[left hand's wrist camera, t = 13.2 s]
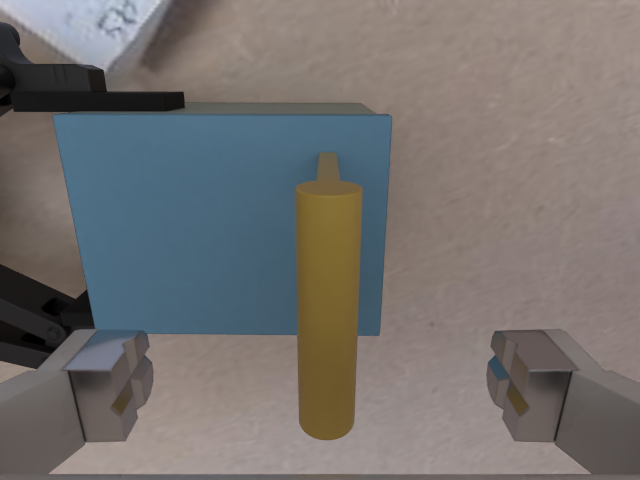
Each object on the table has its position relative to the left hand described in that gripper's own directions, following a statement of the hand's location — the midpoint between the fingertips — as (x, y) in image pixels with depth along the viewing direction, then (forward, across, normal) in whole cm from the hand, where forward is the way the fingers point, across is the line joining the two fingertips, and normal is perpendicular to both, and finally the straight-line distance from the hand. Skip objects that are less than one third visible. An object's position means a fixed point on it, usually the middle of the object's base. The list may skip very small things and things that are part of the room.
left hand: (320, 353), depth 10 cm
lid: (+9, -4, 0) cm, 10 cm away
